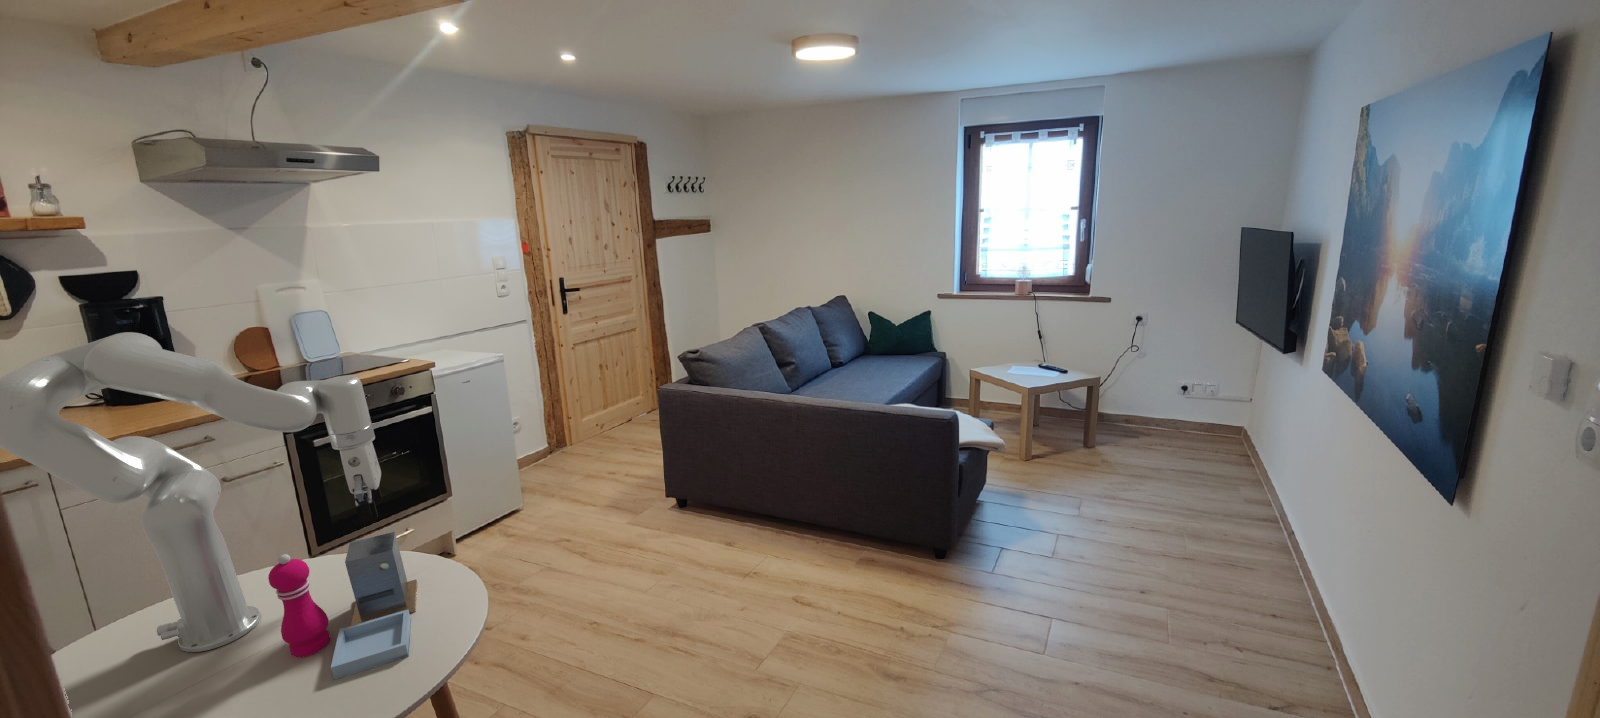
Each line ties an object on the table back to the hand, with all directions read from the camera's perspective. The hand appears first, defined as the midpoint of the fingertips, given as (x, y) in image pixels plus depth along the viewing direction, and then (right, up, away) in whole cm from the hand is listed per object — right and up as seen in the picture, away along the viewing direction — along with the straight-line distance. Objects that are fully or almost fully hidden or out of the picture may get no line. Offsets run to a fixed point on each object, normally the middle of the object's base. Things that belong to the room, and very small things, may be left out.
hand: (371, 510), depth 142 cm
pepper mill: (-2, -23, -15) cm, 27 cm away
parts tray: (+11, -22, -16) cm, 30 cm away
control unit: (+5, -19, -4) cm, 20 cm away
